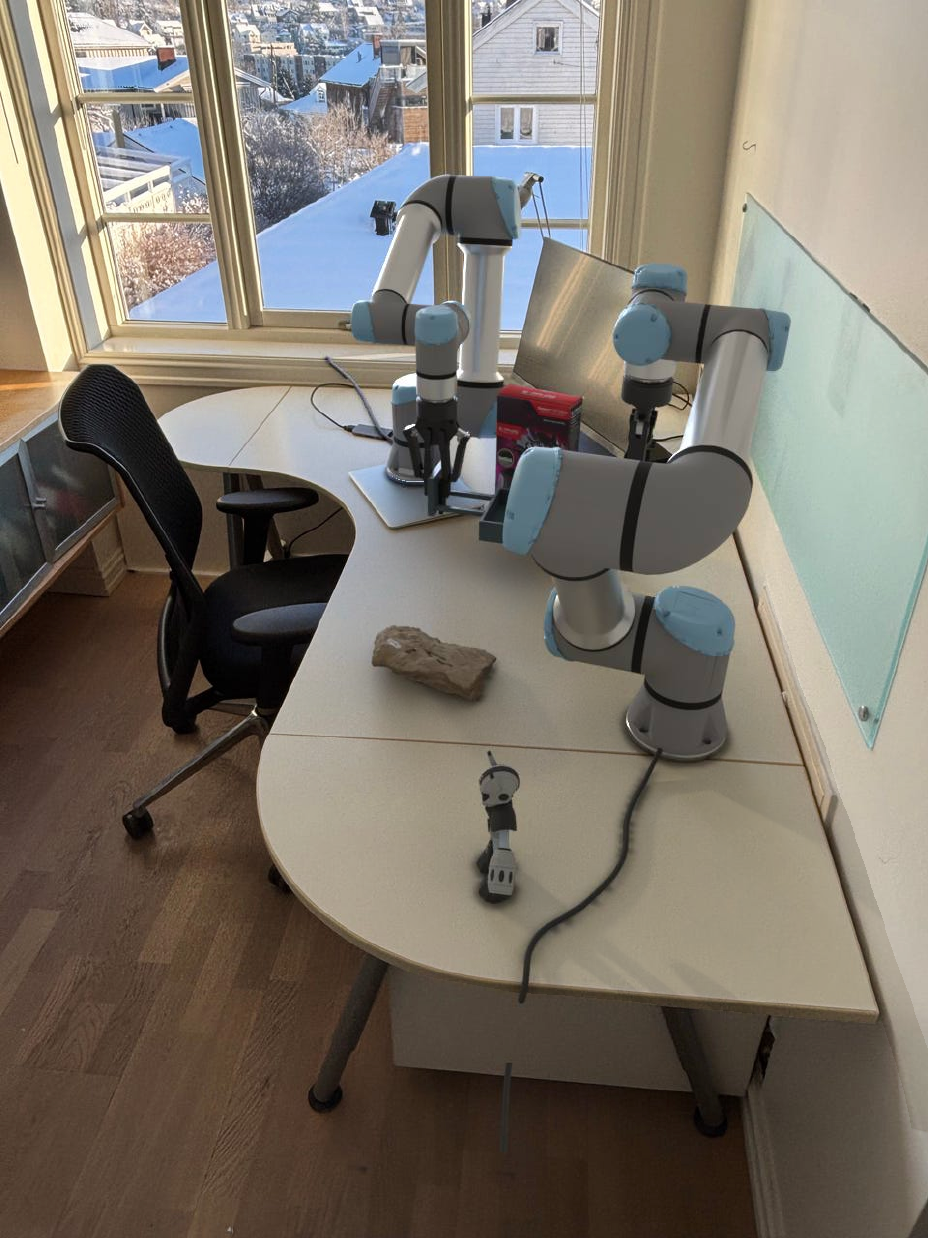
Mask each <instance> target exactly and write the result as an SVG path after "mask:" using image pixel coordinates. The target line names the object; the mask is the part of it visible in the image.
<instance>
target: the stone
mask: <svg viewBox="0 0 928 1238" xmlns="http://www.w3.org/2000/svg"><path fill="white" fill-rule="evenodd" d="M372 653H373V655H372V656H371V665H372V667H374V668H377V667H381V668H387V669H388V670H390V671H391V673H392V674H393V675H395V676H398V677H405V678H406V679H407V680H410V681H413V682H415V681H416V682H420V683H421V684H424V685H426V686H430V687H431V688H435V689H437V690H438V691H441V692H443V693H445V694H450V695H458V696H460V697H462V698H464V699H465V700H466V701H470V702H474V701H477V700H479V698H480V697H481V695H482V693H483V690H484V688H485V682H486V680H487V678H488V675H490V672H491V670H492V668H493V665H494V664H495V663H496V661H497V660H498V659H497V657H496V656H495V655H494V654H493V653H491V652H490V651H487V650H486V649H482V648H479V647H471V646H470V647H469V646H465V645H459V644H457V643H448V642H442V641H441V640H440V639H439V638H438V637H433V636H430V635H429V634H428V633H426V632H424V631H422V630H421V628H419V627H415V626H409V625H396V624H393V625H390V626H388V627H385V628H383V629H382V630H381V631H379V632H377V634H376V637H375V640H374V649H373V652H372Z"/></svg>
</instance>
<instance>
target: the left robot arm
mask: <svg viewBox="0 0 928 1238" xmlns="http://www.w3.org/2000/svg"><path fill="white" fill-rule="evenodd" d="M395 226H396V232H395V234H394V237H393V239H392V242H391V244H390V247H389V250H388V252H387V255H386V258H385V261H384V263H383V265H382V268H381V271H380V273H379V276H378V279H377V281H376V283H375V286H374V289H373V292H372V295H371V297H370V299H369V300H368V299H365V300H357V301H356V302H354V303H353V305H352V307H351V311H350V319H349V321H350V322H349V323H350V330H351V334H352V337H353V338H354V339H355V340H356V341H357V342H363V343H369V344H373V345H376V344H378V345H392V346H393V345H394V346H396V345H397V346H409V347H410V346H411V347H414V348H415V373H411V374H407V375H404V376H402V377H400V378H398V379H397V380H395V381H394V383H393V385H392V386H391V400H390V402H391V403H390V404H391V416H392V417H391V419H392V438H391V437H390V436H388V434H386V433H385V432H384V431H383V429H382V428H381V427H380V424H379V423H378V420H377V419H376V416H375V414H374V412H373V411H372V408H371V406H370V404H369V402H368V400H367V398H366V396H365V394H364V392H363V391H362V389H361V388H360V387H359V386H358V384H357V382H355V380H354V379H353V378H352V377H351V376H350V375H349V374H347V372H346V371H344V369H342V368H341V367H339V365H337V364H336V363H335V362H333V360H332V359H331V356H330V355H326V356H325V357H324V358H325V360H327V361H328V362H329V364H330V365H331V366H332V367H333V368H335V369H336V370H338V372H340V373H341V374H342V375H343V376H344V377H345V378H346V379H347V380H348V381H349V382H350V383H351V384H352V385H353V387H354V388H355V389H356V391H358V394H359V395H360V397H361V398H362V401H363V402H364V405H365V407H366V409H367V411H368V413H369V415H370V417H371V420H372V421H373V424H374V425H375V427H376V429H377V431H378V433H379V434H380V435H381V436H382V437H383V439H385V440H387V441H388V442H390V443H391V444H392V445H391V449H390V452H389V455H388V459H387V461H386V474H387V477H388V478H389V479H390V480H392V481H394V482H396V483H397V484H402V485H407V486H423V494H424V496H425V497H428V477H429V476H430V474H431V473H432V471H433V470H434V469H435V467H436V466H437V465H438V463H439V462H440V460H441V474H442V480H441V481H440V483H439V484H438V504H441V505H447V500H448V499H449V498H450V497H451V496H450V494H451V489H452V483H457V482H458V480H459V479H460V477H461V474H462V470H463V466H464V465H463V463H464V460H465V455H466V450H467V444H468V443H469V441H470V439H471V438H476V439H478V440H481V439H487V440H489V439H490V440H491V439H493V440H494V439H496V430H497V394H498V393H499V392H500V391H501V390H502V389H503V388H504V387H505V386H504V384H505V383H504V382H505V378H504V376H502V374H501V373H500V372H499V357H500V354H499V353H500V338H501V323H502V321H501V320H502V307H503V305H502V304H503V289H504V273H505V272H504V271H505V257H506V255H507V254H508V253H509V252H510V251H511V250H512V249H513V243H514V242H513V241H514V240H517V239H519V238H520V237H521V235H522V206H521V198H520V192H519V188H518V185H517V183H516V181H515V180H513V179H512V178H509V177H503V176H497V175H492V176H491V175H460V174H459V175H458V174H457V175H456V174H455V175H454V174H442V175H437V176H434V177H432V178H429V179H428V180H425V181H424V182H422V183H421V184H420V185H419V186H417V187H416V188H415V189H414V190H413V191H411V193H409V194H408V196H407V197H406V198H405V199H404V201H403V202H402V204H401V205H400V207H399V209H398V212H397V215H396V218H395ZM440 236H456V237H458V238H457V246H458V248H460V249H461V251H462V252H463V254H464V259H463V260H464V261H463V279H462V280H463V281H462V282H463V284H462V303H461V302H459V301H457V300H448V301H447V300H446V301H445V302H442V303H440V304H439V305H434V304H419V303H417V304H416V303H412V301H413V298H414V296H415V295H414V294H415V293H416V289H417V287H418V283H419V282H420V281H419V280H420V278H421V275H422V272H423V269H424V267H425V263H426V261H427V258H428V256H429V253H430V251H431V250H430V249H431V247H432V246H433V244H435V243H436V242H437V240H439V238H440ZM459 349H460V351H459ZM458 351H459V368H458ZM454 437H457V438H456V442H457V447H456V452H455V457H454V462H453V467H452V464H451V442H452V440H453V438H454ZM388 473H389V474H390V475H391V476H390V475H389V474H388ZM392 476H393V477H392ZM396 478H397V479H396ZM398 479H400V480H398ZM402 480H405V481H402ZM406 481H424V482H406ZM437 513H438V515H440V516H442V515H443V514H444V513H445V512H442V511H437Z"/></svg>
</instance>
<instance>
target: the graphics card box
mask: <svg viewBox="0 0 928 1238" xmlns="http://www.w3.org/2000/svg"><path fill="white" fill-rule="evenodd" d="M583 400H584V398H583V396H582V395H573V394H566V393H563V392H562V393H561V392H557V391H550V390H547V389H541V388H535V387H532V386H531V387H530V386H526V385H525V386H524V385H521V384H520V385H519V384H515V383H508V384H506V385H505V386H504V388H503V389H502V390H501V391H500V392H499V393H498V394H497V430H496V438H495V477H494V493H495V492H496V490H497V489H498V487H500V488H507V489H510V488H511V484H512V480H513V476H514V473H515V470H516V467H517V464H518V462H519V459H520V458H521V456H522V454H523V453H524V452H525V451H526V450H527V449H529V448H531V447H545V448H553V447H560V448H561V450H566V451H574V452H579V447H580V435H581V424H582V423H581V421H582V411H583V410H582V409H583Z"/></svg>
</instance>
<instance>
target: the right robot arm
mask: <svg viewBox="0 0 928 1238" xmlns="http://www.w3.org/2000/svg"><path fill="white" fill-rule="evenodd" d="M688 277H689V276H688V272H687V270H686V269H685V268H684V267H682V266H679V265H676V264H671V263H662V262H661V263H660V262H655V263H654V262H652V263H646V264H642V265H640V266H638V267H637V268H636V269H635V271H634V275H633V280H632V285H631V287H630V289H631V296H630V297H631V298H630V300H629V301H628V303H627V305H626V307H624V309H622V311H621V312H620V313H619V315H618V317H617V319H616V322H615V325H614V327H613V331H612V345H613V347H614V351H615V352H616V354H617V355H618V356H619V358H620V359H621V360H623V373H624V375H623V376H622V382H621V393H620V398H621V400H622V401H623V402H624V403H625V404H627V405H630V406H633V407H631V412H630V414H629V419H628V425H629V430H628V435H627V441H628V447H627V454H626V458H623V457H617V456H611V455H610V456H609V455H602V454H595V453H588V452H581V451H578V452H574V451H566V450H561V448H560V447H553V448H545V447H531V448H529V449H527V450H526V451H525V452H524V453H523V454H522V456H521V458H520V459H519V462H518V464H517V467H516V470H515V473H514V476H513V480H512V484H511V488H510V492H509V496H508V501H507V506H506V511H505V518H504V525H503V544H502V545H503V547H504V548H505V549H506V550H507V551H508V552H512V553H516V554H517V555H518V556H525V555H529V556H531V558H532V559H533V561H534V562H535V564H536V566H537V567H539V569H540V570H541V571H543V572H544V573H545V574H547V575H548V576H550V577H551V579H552V583H553V586H554V587H553V588H552V589H551V592H550V594H549V596H548V599H547V602H546V605H545V611H544V616H543V617H544V618H543V631H544V634H543V641H544V644H545V647H546V649H547V651H548V653H550V654H551V655H552V656H554V657H557V658H561V659H562V660H565V661H567V662H573V663H574V662H577V663H583V664H587V665H591V666H592V665H593V666H597V667H602V668H607V669H612V670H618V671H622V672H623V671H624V672H628V673H632V674H637V675H641V676H644V677H643V682H642V684H641V685H640V688H639V689H638V691H637V692H636V694H635V695H634V697H633V699H632V701H631V702H630V704H629V706H628V708H627V713H626V719H625V728H626V732H627V734H628V736H629V738H630V739H631V741H632V742H634V744H636V745H637V746H638V747H639V748H640V749H641V750H643V751H645V752H646V753H648V754H650V755H651V756H653V757H652V760H651V762H650V764H649V765H648V767H647V769H646V771H645V774H644V776H643V778H642V779H641V782H640V784H639V785H638V788H637V789H636V791H635V792H634V794H633V796H632V798H631V800H630V803H629V805H628V807H627V810H626V812H625V816H624V820H623V821H624V822H623V828H622V830H623V831H622V832H623V833H622V848H621V852H620V856H619V859H618V861H617V863H616V865H615V867H614V868H613V870H612V871H611V873H610V874H609V875H608V876H607V877H606V879H605V880H604V881H603V882H602V883H601V884H600V885H599V886H598V887H596V888H595V889H594V890H593V891H591V893H590V894H589V895H588V896H587V897H586V898H584V899H583V900H582V901H581V902H580V903H578V904H577V905H575V906H574V907H572V908H571V909H569V910H568V911H566V912H565V913H562V914H560V915H558V916H557V917H556V918H554V919H552V920H551V921H549V922H546V924H545V925H543V926H542V927H541V928H540V929H538V930H537V932H536V933H535V934H534V936H533V937H532V938H531V940H530V941H529V943H528V945H527V947H526V949H525V953H524V958H523V967H522V978H521V984H520V989H519V994H518V999H517V1002H518V1003H519V1004H521V1005H522V1004H524V1003H525V1002H526V997H527V993H528V988H529V981H530V973H531V972H530V971H531V960H532V955H533V952H534V950H535V947H536V946H537V944H538V943H539V941H540V940H541V939H542V938H543V936H544V935H546V934H547V933H548V932H549V931H550V930H552V929H554V927H555V928H556V926H558V925H559V924H562V923H564V922H565V921H567V920H568V919H571V918H572V917H574V916H575V915H578V914H579V913H580V912H581V911H583V910H584V909H585V908H587V906H588V905H590V904H591V903H592V902H593V901H594V900H595V899H597V898H598V897H599V896H600V895H601V894H602V893H603V892H604V891H605V890H606V889H607V888H608V887H609V886H610V885H611V884H612V882H613V881H615V879H616V877H617V876H618V875H619V873H620V872H621V870H622V868H623V866H624V864H625V861H626V859H627V856H628V852H629V843H630V825H631V824H630V823H631V818H632V815H633V813H634V809H635V807H636V804H637V802H638V801H639V798H640V796H641V794H642V793H643V791H644V789H645V787H646V785H647V783H648V781H649V779H650V777H651V776H652V773H653V771H654V769H655V767H656V765H657V763H658V761H659V759H662V760H666V761H670V762H675V763H694V762H700V761H703V760H706V759H709V758H711V757H714V755H716V754H718V752H720V751H721V750H722V748H723V747H724V744H725V743H726V740H727V739H726V738H727V733H728V721H727V716H726V712H725V708H724V707H725V706H724V701H723V692H724V686H725V682H726V678H727V677H726V676H727V671H728V666H729V661H730V656H731V652H733V649H734V646H735V638H734V637H735V631H736V618H735V616H734V614H733V611H732V610H731V608H730V607H729V606H728V605H727V604H726V603H724V601H723V600H722V599H721V598H719V597H718V596H717V595H715V594H712V593H711V592H709V591H706V590H704V589H701V588H698V587H694V586H689V585H676V586H675V587H674V586H668V587H666V588H663V589H662V590H660V591H659V592H658V593H657V595H656V596H651V595H647V594H641V593H636V592H632V591H631V590H630V589H629V587H628V586H627V585H626V584H625V583H624V582H623V581H622V577H621V571H622V572H627V573H633V574H638V575H645V576H656V575H657V576H661V575H665V574H671V573H674V572H678V571H682V570H684V569H686V568H688V567H691V566H692V565H694V564H696V563H698V562H700V561H701V560H703V559H705V558H707V557H708V556H709V555H711V554H712V553H714V552H715V551H717V550H718V549H719V548H720V547H721V546H722V545H723V544H724V543H725V542H726V541H727V540H728V539H729V538H730V536H732V534H733V533H734V532H735V531H736V530H737V528H738V527H739V525H740V524H741V523H742V521H743V519H744V517H745V515H746V513H747V511H748V509H749V505H750V501H751V497H752V494H753V486H754V476H753V472H752V469H751V467H750V465H749V463H748V461H749V458H750V454H751V453H750V452H751V448H752V447H751V446H752V444H753V443H752V442H753V437H754V432H755V427H756V423H757V419H758V413H759V408H760V402H761V398H762V394H763V393H762V392H763V388H764V383H765V377H766V372H776V371H780V369H782V367H783V363H784V358H785V354H786V350H787V345H788V339H789V334H790V328H791V324H792V319H791V316H790V315H789V314H788V313H786V312H784V311H777V310H771V309H766V308H764V307H758V308H754V307H742V306H730V305H717V304H707V303H698V302H688V301H686V297H687V296H688V290H687V289H688ZM679 362H683V363H690V364H691V363H692V364H699V365H700V364H701V365H703V368H702V371H701V374H700V378H699V382H698V385H697V388H696V391H695V395H694V399H693V401H692V405H691V408H690V412H689V417H688V420H687V421H686V426H685V430H684V432H683V437H682V440H681V443H680V447H679V450H677V451H676V452H675V453H673V454H672V456H670V457H669V459H668V460H667V462H666V463H662V462H661V463H660V462H651V454H652V453H651V452H652V450H653V449H654V450H655V449H656V443H657V441H652V440H653V439H654V430H655V429H656V424H657V420H658V415H659V410H656V409H658V408H662V407H665V406H667V405H669V404H670V403H671V401H672V398H673V391H674V383H675V379H674V378H673V376H674V375H675V373H676V367H677V363H679ZM512 1069H513V1062H505V1069H504V1077H503V1078H504V1079H503V1091H502V1111H501V1131H500V1132H501V1133H500V1146H499V1147H500V1148H499V1154H500V1156H505V1155H506V1154H507V1141H508V1128H509V1127H508V1126H509V1125H508V1124H509V1107H510V1106H509V1105H510V1092H511V1091H510V1088H511V1079H512V1071H513V1070H512Z"/></svg>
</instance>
